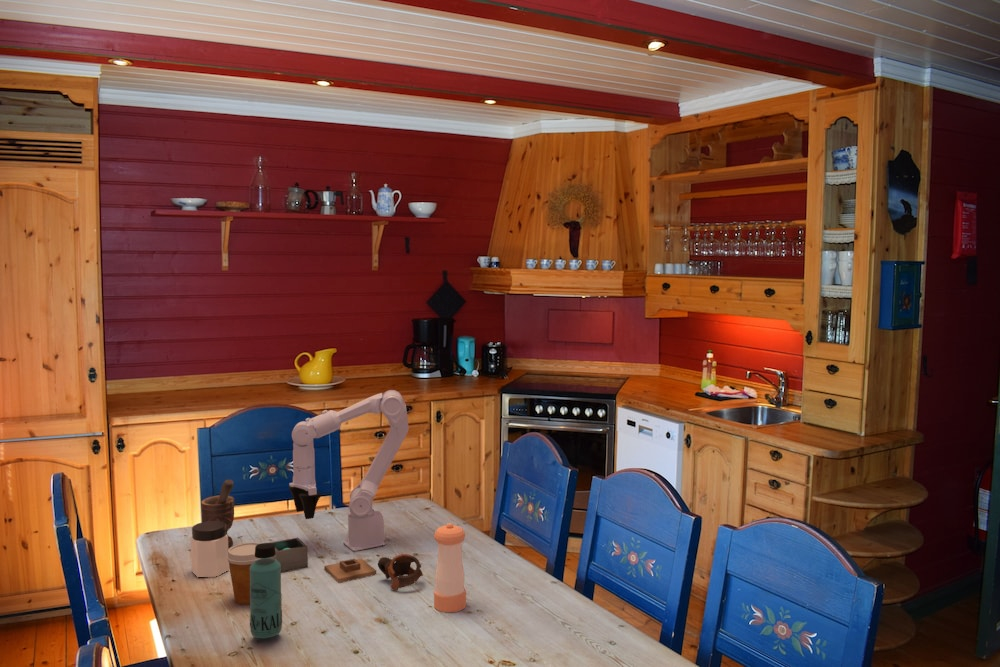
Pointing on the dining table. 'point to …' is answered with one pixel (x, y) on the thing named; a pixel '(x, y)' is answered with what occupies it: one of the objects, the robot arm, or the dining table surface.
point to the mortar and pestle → (220, 508)
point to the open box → (291, 554)
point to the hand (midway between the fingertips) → (304, 514)
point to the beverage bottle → (265, 593)
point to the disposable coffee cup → (241, 570)
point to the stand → (349, 570)
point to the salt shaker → (449, 569)
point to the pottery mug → (400, 570)
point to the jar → (209, 549)
